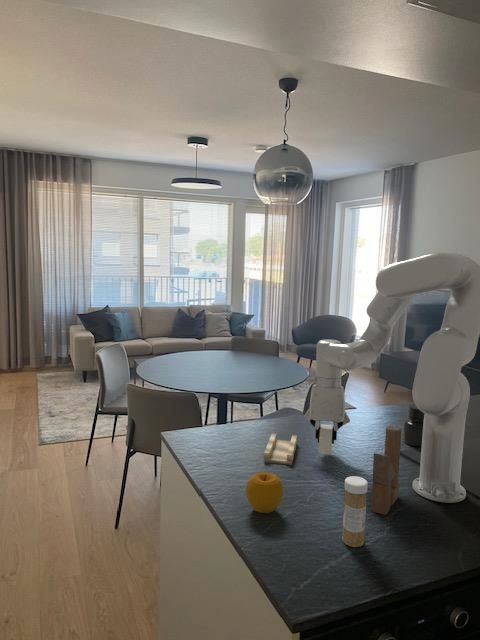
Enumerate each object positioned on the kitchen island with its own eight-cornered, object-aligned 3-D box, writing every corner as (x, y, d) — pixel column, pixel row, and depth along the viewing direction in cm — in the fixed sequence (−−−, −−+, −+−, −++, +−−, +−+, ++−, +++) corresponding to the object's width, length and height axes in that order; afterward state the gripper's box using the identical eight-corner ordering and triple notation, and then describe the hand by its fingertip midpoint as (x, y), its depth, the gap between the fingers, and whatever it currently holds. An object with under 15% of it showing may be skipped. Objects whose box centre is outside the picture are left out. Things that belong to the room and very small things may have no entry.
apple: (251, 523, 107) (252, 484, 106) (240, 504, 115) (241, 468, 114) (287, 517, 109) (288, 480, 108) (274, 499, 117) (275, 465, 116)
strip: (331, 454, 136) (331, 439, 135) (318, 453, 136) (319, 437, 136) (331, 439, 147) (332, 425, 147) (320, 438, 148) (320, 424, 148)
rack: (291, 464, 137) (292, 455, 137) (263, 461, 139) (264, 452, 139) (296, 444, 153) (296, 435, 153) (271, 441, 154) (271, 433, 154)
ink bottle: (429, 438, 160) (431, 403, 159) (437, 448, 151) (440, 411, 150) (398, 437, 161) (401, 401, 160) (405, 447, 152) (407, 410, 151)
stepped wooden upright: (370, 511, 113) (374, 437, 110) (384, 493, 122) (388, 424, 119) (386, 516, 111) (390, 440, 108) (399, 497, 120) (403, 427, 117)
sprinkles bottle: (349, 533, 103) (352, 473, 102) (368, 541, 100) (372, 480, 99) (337, 542, 100) (340, 480, 98) (357, 551, 97) (360, 487, 95)
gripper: (299, 383, 140) (297, 443, 143) (357, 386, 137) (354, 449, 140) (301, 377, 148) (299, 434, 150) (356, 380, 145) (353, 439, 147)
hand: (325, 441), depth 145 cm, fingers closed on strip, 3 cm apart
